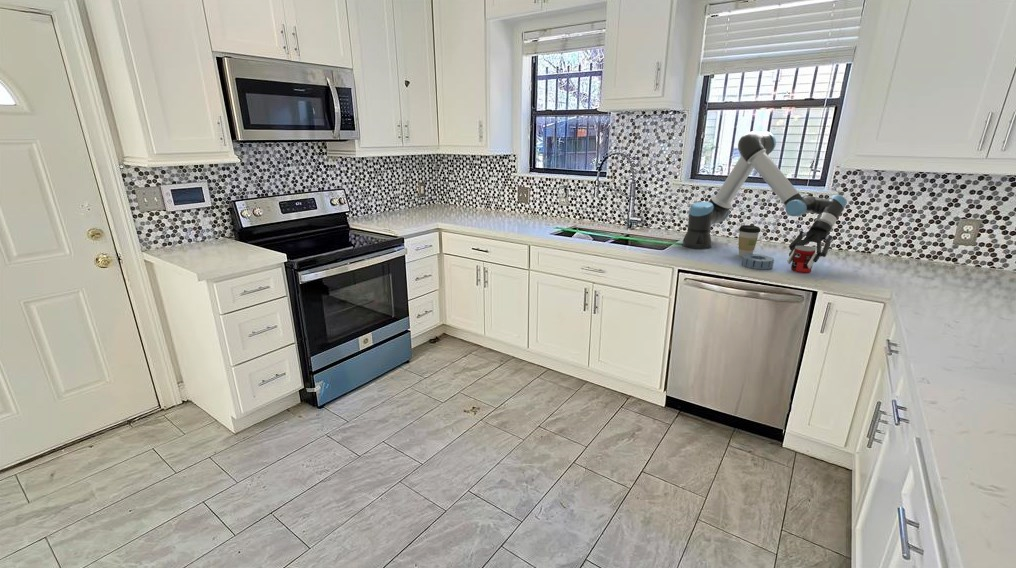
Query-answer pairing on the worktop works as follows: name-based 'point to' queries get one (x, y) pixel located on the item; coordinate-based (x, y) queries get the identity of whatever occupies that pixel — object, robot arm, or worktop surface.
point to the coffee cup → (747, 239)
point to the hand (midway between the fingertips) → (798, 264)
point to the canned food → (802, 259)
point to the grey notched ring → (757, 261)
